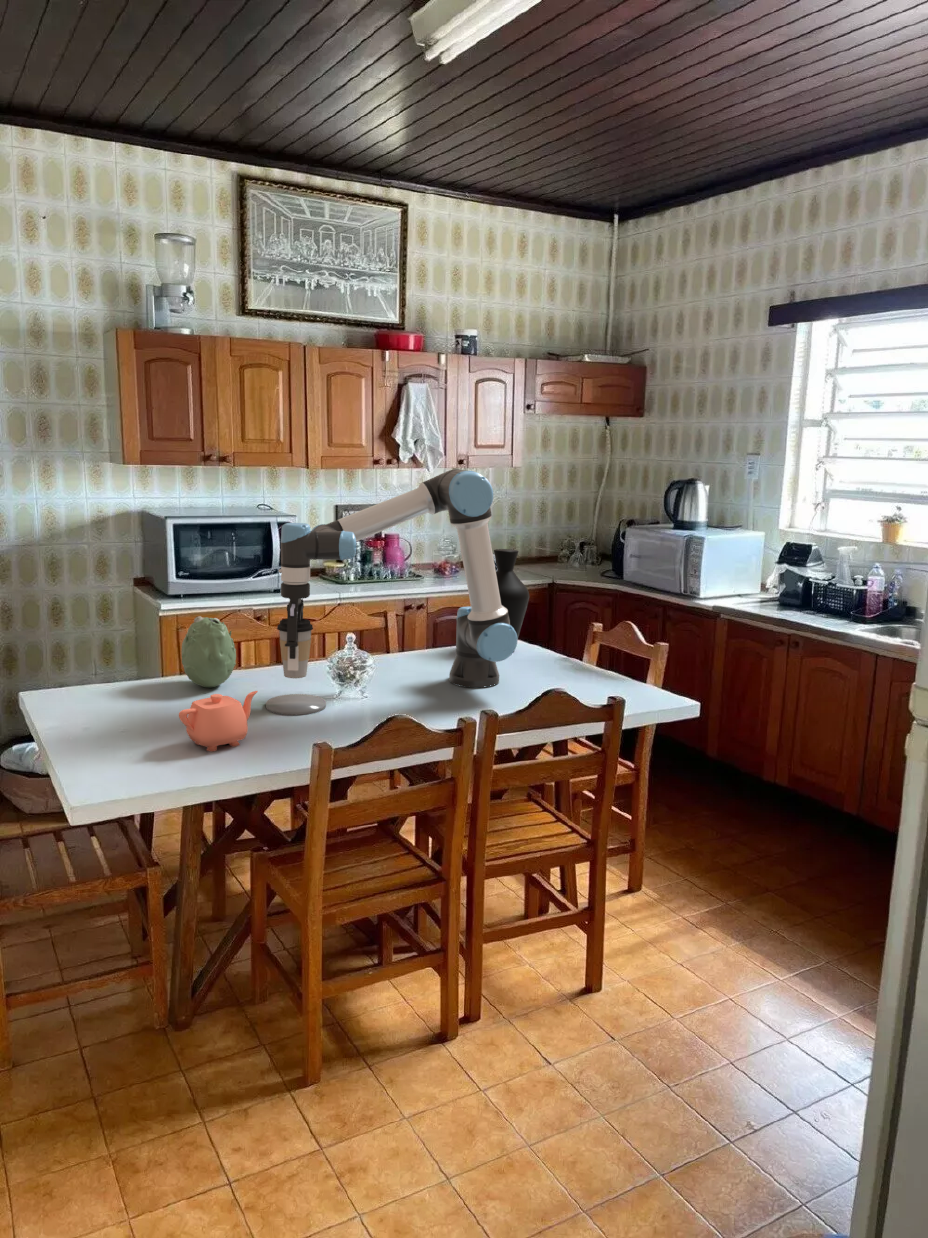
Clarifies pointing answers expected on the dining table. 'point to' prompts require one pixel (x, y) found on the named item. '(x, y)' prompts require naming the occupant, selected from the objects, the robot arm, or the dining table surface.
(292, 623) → the robot arm
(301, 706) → the coaster
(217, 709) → the teapot
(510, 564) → the vase
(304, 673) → the coffee cup
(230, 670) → the green bumpy egg shape
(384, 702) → the dining table surface
